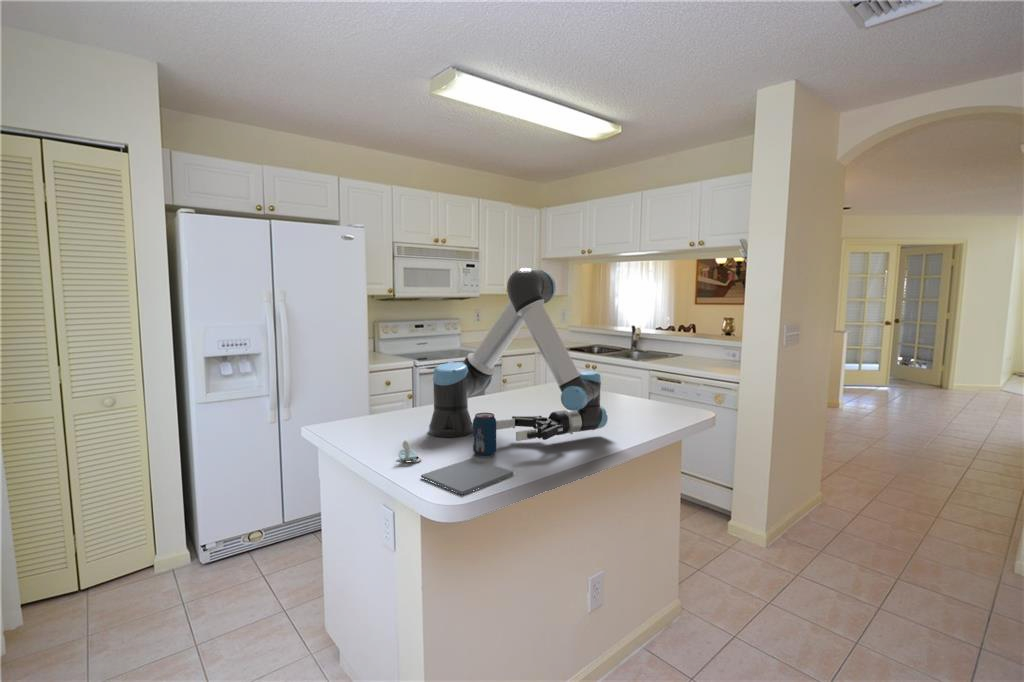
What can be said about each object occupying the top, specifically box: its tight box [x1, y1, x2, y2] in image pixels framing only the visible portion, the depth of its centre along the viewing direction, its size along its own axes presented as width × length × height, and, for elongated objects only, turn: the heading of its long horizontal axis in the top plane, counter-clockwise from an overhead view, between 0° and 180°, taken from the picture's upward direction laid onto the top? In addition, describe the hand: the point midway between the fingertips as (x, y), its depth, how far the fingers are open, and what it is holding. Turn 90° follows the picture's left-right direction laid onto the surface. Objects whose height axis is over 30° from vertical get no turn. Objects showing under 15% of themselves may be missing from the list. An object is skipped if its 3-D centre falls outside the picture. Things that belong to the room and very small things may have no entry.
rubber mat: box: [420, 457, 514, 496], centre depth 129 cm, size 16×18×1 cm
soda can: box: [472, 412, 497, 458], centre depth 147 cm, size 7×7×12 cm
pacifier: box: [397, 439, 422, 463], centre depth 142 cm, size 7×6×6 cm
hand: (505, 430), depth 149 cm, fingers open, 13 cm apart
